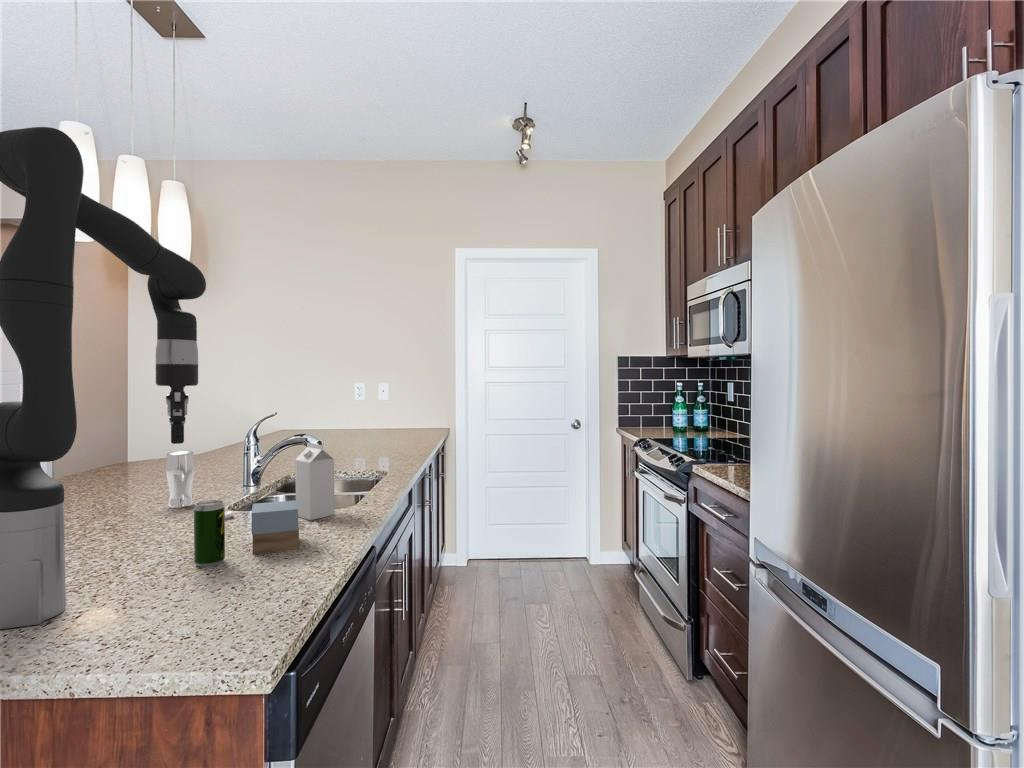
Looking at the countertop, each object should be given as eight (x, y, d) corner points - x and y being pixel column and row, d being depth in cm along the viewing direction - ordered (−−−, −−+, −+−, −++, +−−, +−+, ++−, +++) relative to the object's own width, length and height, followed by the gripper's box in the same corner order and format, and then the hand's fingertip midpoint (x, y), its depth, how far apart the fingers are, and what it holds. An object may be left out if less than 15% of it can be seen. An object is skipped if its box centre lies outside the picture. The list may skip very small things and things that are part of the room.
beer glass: (170, 503, 161) (169, 451, 161) (197, 502, 163) (196, 450, 163) (163, 509, 154) (162, 455, 154) (191, 507, 156) (190, 454, 156)
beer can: (195, 569, 107) (194, 507, 107) (193, 561, 112) (192, 501, 112) (226, 564, 110) (226, 503, 110) (223, 556, 115) (222, 498, 114)
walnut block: (298, 550, 119) (298, 530, 119) (252, 556, 116) (252, 534, 116) (298, 539, 128) (298, 519, 128) (254, 543, 124) (254, 523, 124)
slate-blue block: (298, 530, 119) (297, 509, 119) (251, 534, 116) (251, 513, 116) (296, 519, 128) (296, 500, 128) (253, 523, 124) (252, 503, 124)
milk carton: (319, 511, 153) (319, 441, 152) (334, 515, 148) (334, 444, 148) (295, 516, 147) (295, 444, 147) (310, 521, 143) (309, 446, 142)
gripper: (199, 362, 111) (199, 444, 111) (197, 363, 123) (197, 437, 123) (154, 361, 107) (154, 446, 107) (156, 363, 119) (156, 439, 119)
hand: (177, 441), depth 115 cm, fingers open, 8 cm apart
